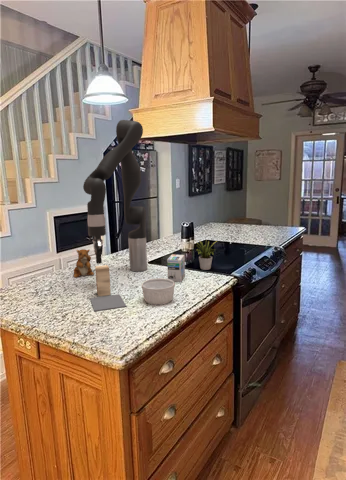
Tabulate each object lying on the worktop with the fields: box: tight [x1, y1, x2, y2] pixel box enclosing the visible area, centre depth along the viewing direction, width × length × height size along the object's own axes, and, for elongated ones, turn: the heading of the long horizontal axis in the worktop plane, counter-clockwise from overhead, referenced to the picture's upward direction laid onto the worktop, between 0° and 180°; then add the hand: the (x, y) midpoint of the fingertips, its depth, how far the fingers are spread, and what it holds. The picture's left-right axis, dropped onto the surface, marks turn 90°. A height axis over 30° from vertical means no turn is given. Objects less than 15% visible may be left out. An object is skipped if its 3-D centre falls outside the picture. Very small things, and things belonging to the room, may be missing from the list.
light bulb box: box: [166, 254, 186, 283], centre depth 163 cm, size 11×7×11 cm, turn 168°
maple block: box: [95, 264, 112, 297], centre depth 142 cm, size 5×5×12 cm
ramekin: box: [141, 277, 176, 305], centre depth 136 cm, size 13×13×7 cm
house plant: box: [192, 239, 218, 271], centre depth 179 cm, size 14×14×16 cm
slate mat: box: [89, 293, 127, 312], centre depth 134 cm, size 14×12×1 cm
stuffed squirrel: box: [73, 248, 95, 279], centre depth 174 cm, size 10×14×13 cm
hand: (98, 263), depth 152 cm, fingers closed
